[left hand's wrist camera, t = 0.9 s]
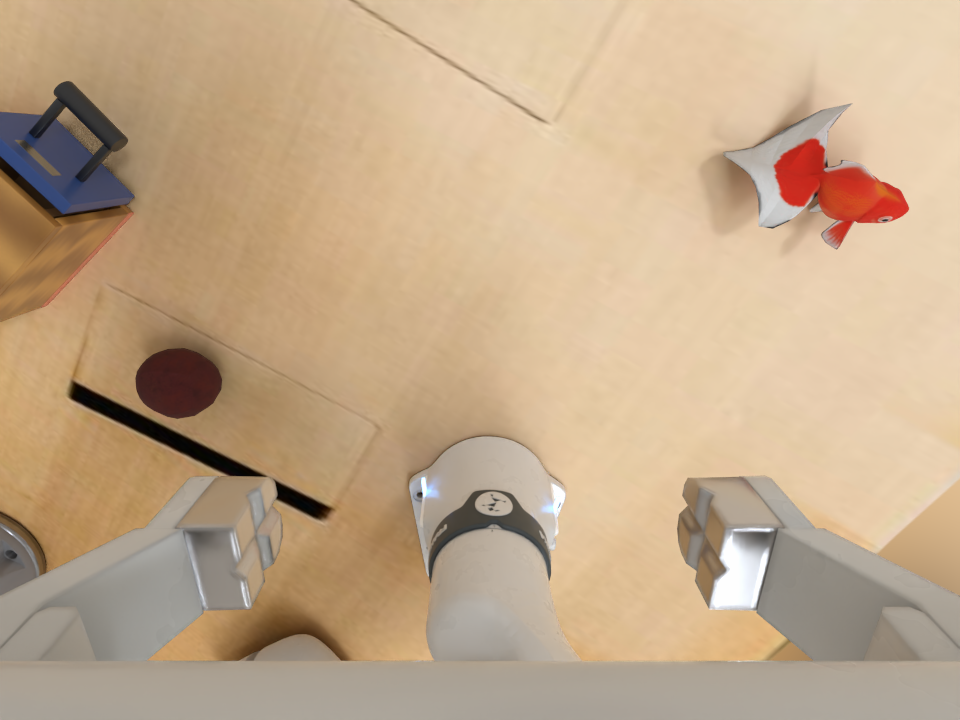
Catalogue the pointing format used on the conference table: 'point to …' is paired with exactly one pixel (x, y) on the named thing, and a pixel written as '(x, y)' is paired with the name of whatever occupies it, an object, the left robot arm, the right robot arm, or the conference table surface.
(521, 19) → the conference table surface
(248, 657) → the white grey lobed device
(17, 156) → the drawer
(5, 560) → the right robot arm
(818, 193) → the fish
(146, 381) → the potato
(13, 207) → the cabinet
